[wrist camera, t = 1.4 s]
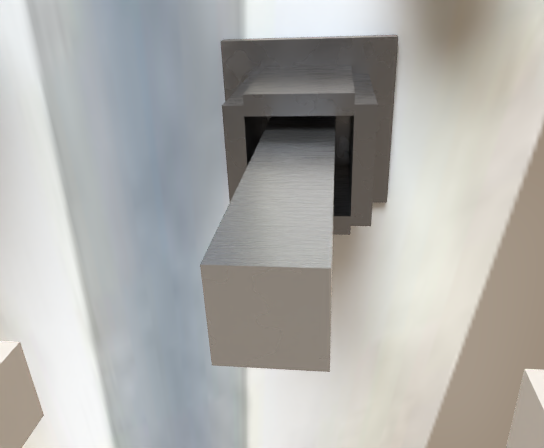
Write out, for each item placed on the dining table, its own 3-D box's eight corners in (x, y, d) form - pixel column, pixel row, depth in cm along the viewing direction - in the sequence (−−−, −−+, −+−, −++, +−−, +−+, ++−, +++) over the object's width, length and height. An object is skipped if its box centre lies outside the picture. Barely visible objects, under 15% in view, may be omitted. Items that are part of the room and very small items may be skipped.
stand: (235, 195, 41) (198, 273, 30) (223, 39, 36) (174, 67, 25) (385, 197, 40) (402, 279, 29) (396, 34, 34) (422, 62, 24)
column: (281, 160, 38) (213, 378, 17) (279, 99, 36) (200, 264, 15) (334, 160, 37) (329, 385, 17) (336, 98, 35) (331, 268, 15)
